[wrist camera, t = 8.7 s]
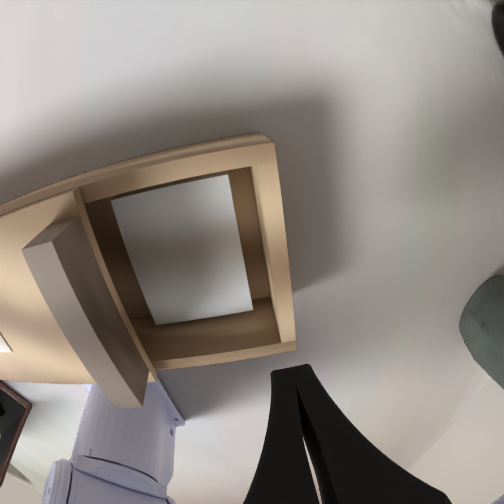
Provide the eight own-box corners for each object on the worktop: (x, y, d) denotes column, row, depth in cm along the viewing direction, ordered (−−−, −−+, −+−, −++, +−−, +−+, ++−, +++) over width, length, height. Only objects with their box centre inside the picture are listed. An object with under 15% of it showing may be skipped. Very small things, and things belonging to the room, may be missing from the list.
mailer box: (281, 298, 21) (296, 349, 16) (58, 329, 20) (36, 373, 16) (259, 132, 16) (274, 142, 11) (2, 204, 15) (-42, 234, 11)
